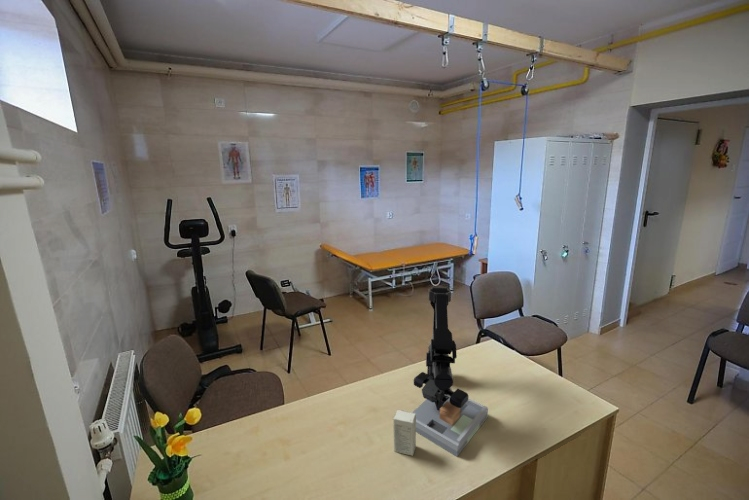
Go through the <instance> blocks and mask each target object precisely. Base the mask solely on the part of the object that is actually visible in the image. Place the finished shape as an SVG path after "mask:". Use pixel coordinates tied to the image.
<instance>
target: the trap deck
mask: <svg viewBox="0 0 749 500" xmlns="http://www.w3.org/2000/svg"><path fill="white" fill-rule="evenodd" d="M452 391H453V392H455V390H452ZM447 401H448V402H450V398H449V399H448V400H447ZM447 401H446V402H447ZM446 402H444V404H445V403H446ZM444 404H443V405H444ZM488 412H489V408H488V406H486V405H484V404H480V403H479V402H477V401H475V400H472V399H471V398H469V397H468V401H467V402H466V403H465V404H464V405H463V406H462V407H461V408H460V418H459V419H458V420H457V421H456V422H455V423H454V424H453V426H452V425H450V424H448V423H446V422H445V421H443V420H441V419H439V416H440V410H437V408H436V405H435V402H431V401H429V400H427V399H425V400H424V401H423V402H422V403H421V404H420V405H419V406H417V408H416V409H414V410H413V411H412V412H411V413H415V414H416V434H418V435H420V436H422V437H424V438H426V439H427V440H428V441H430V442H432V443H433V444H434V445H437V446H439V447H440V448H442V449H444V451H446V452H448V453H450V454H452V455H453V456H455V457H458V456H459V455H460V454H461V452H462V451H463V450H464V448H465V447H466V445H467V444H468V443H469V442H470V441H471V440H472V438H473V437H474V436H475V434H476V433H477V432H478V430H479V429H480V427H481V426H482V425H483V424H484V423H485V421H486V420H487V418H488Z"/></svg>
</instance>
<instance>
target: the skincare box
mask: <svg viewBox="0 0 749 500" xmlns="http://www.w3.org/2000/svg"><path fill="white" fill-rule="evenodd" d="M392 420H393V451H394V452H397V453H400V454H403V455H407V456H412V457H413V456H414V453H415V450H416V447H417V446H416V445H417V438H416V437H417V436H416V435H417V432H416V414H415V413H412V412H411V411H410V412H409V411H405V410H400V409H396V412H395V414H394V416H393V418H392Z"/></svg>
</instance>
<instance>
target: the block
mask: <svg viewBox="0 0 749 500" xmlns="http://www.w3.org/2000/svg"><path fill="white" fill-rule="evenodd" d="M459 418H460V408H458V407H456V406H454V405H452V404H451V403H450V402H448V401H447V402H446V403H445V404H444V405H443V406H442V407H441V408H440V416H439V419H441V420H443V421H445V422H446V423H448V424H450V425H452V426H453V424H454V423H455V422H456V421H457V420H458V419H459Z"/></svg>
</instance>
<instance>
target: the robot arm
mask: <svg viewBox="0 0 749 500" xmlns="http://www.w3.org/2000/svg"><path fill="white" fill-rule="evenodd" d="M427 295H428V301H429V303H430V306H431V307H432V309H433V313H432V316H433V318H432V319H433V320H432V338H430V344H429V346H428V348H427V349H428V350H427V352H425V353H426V354H425V367H427V368H426V369H427V370H426V372H424V371H422V372H419V373H418V375H417V374H416V376H414V379H413V386H415V387H416V388H419V389H421V393H422V397H423V399H425V400H426V399H427V400H429V401H431V402H435V405H436V408H437V410H440V408H441V407H442V406H443V404H444V402H446V401H447V400H448V399H449V398H450V403H451V404H452V405H454V406H456V407H458V408H461V407H462V406H463V405H464V404H465V403H466V402H467V401H468V398H469V396H470V395H469V393H468V392H466V391H464V390H462V389H460V388H457V389H456V390H453V388H451V387H452V386H453V384H454V378H453V373H452V372H453V371H452V367H451V364H455V363H456V359H457V344H456V341H455V340H453V333H452V331H451V330H450V329H449V319H448V318H449V317H448V305H449V303H450V302H452V299H451V298H452V291H451V290H449V289H448V287H446V286H431V288H429V289H428V294H427ZM451 354H452V356H450V355H451ZM453 391H454V392H453Z"/></svg>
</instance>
